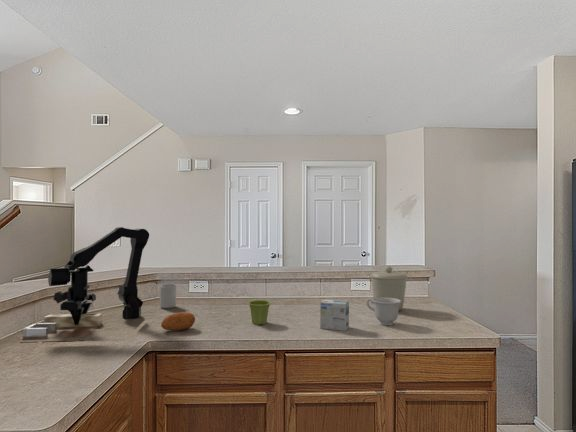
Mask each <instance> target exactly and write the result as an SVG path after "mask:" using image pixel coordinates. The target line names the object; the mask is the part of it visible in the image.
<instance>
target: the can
mask: <svg viewBox="0 0 576 432" xmlns="http://www.w3.org/2000/svg"><path fill="white" fill-rule="evenodd" d="M159 290H160V292H159V295H160V296H159V306H160V308H161V309H165V310H166V309H174V308H175V306H176V305H177V304H176V303H177V302H176V301H177V285H176V284H175V282H163V283H161V285H160V287H159Z"/></svg>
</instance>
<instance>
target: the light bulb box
mask: <svg viewBox="0 0 576 432" xmlns="http://www.w3.org/2000/svg"><path fill="white" fill-rule="evenodd" d="M349 302H350V301H349V300H337V299H336V300H335V299H323V300H321V301H320V304H319V305H320V311H319V312H320V314H319V315H320V316H319V317H320V322H319V325H320V326H319V328H320V329H322V330H334V331H342V332H343V331H345V332H346V331H347V330H348V329H349V328H350V306H349V305H350V303H349Z"/></svg>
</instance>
